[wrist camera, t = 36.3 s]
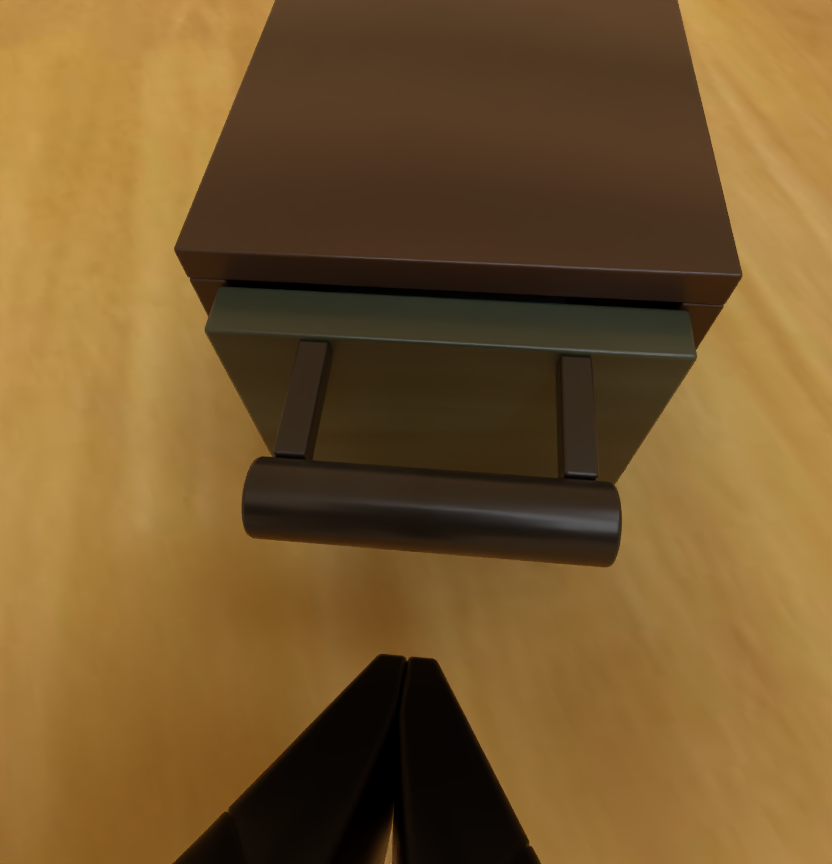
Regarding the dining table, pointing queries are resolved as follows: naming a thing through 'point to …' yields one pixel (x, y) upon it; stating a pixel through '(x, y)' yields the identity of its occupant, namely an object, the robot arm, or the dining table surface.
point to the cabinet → (469, 156)
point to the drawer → (446, 417)
